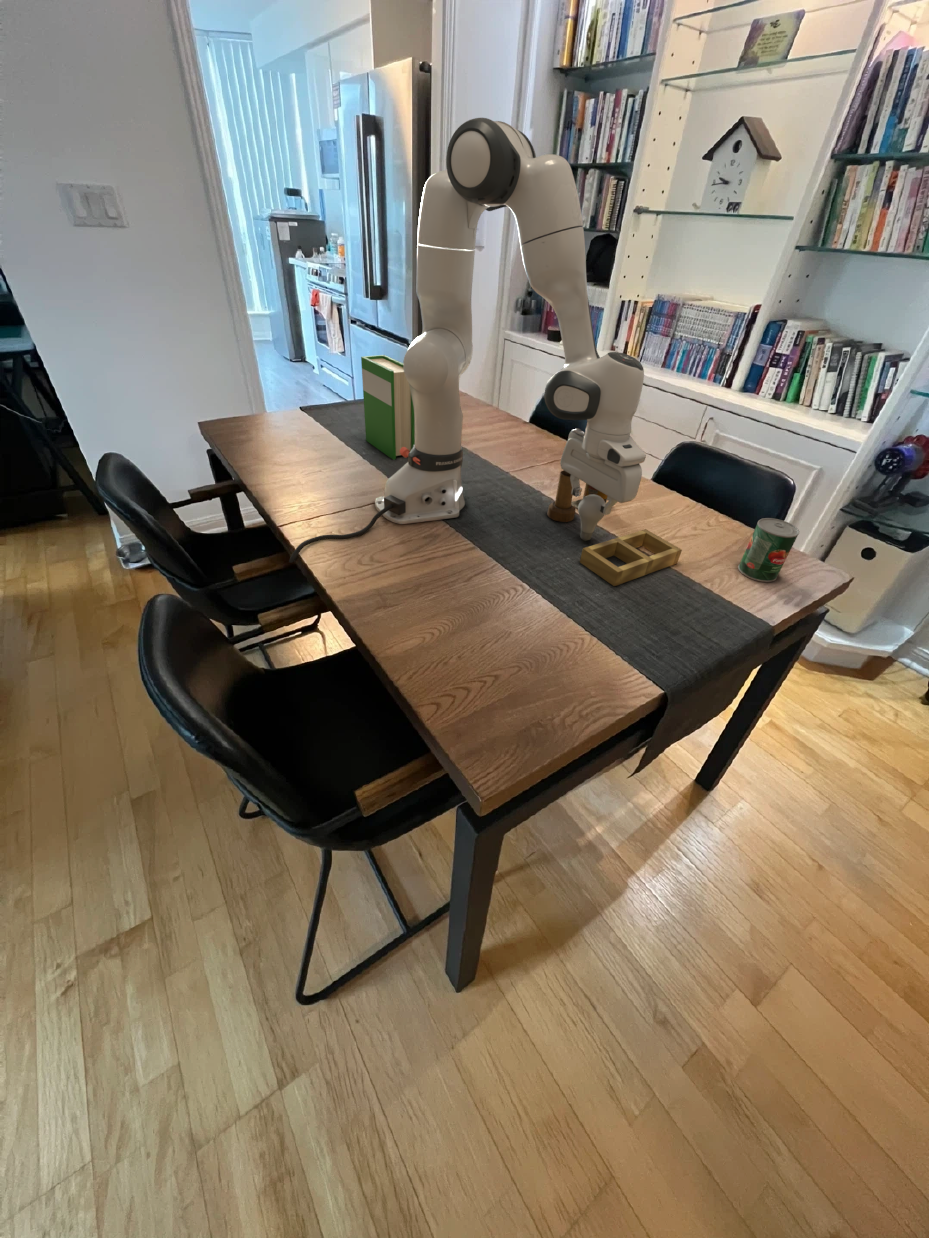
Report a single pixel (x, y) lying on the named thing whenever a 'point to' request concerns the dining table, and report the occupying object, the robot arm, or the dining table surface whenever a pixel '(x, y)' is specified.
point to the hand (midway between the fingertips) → (589, 504)
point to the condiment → (590, 491)
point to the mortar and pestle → (562, 500)
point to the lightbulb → (590, 514)
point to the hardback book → (387, 405)
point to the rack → (630, 556)
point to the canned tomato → (768, 549)
